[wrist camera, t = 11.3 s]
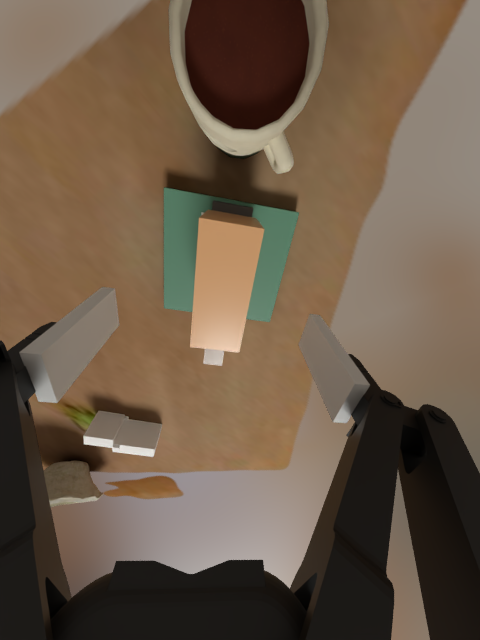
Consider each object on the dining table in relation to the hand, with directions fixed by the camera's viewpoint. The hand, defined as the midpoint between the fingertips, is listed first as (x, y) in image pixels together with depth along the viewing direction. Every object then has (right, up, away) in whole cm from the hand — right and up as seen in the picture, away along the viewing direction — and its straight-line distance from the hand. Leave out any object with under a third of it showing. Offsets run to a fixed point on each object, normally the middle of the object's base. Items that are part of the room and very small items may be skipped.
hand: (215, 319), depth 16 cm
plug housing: (0, +4, +10) cm, 11 cm away
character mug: (+2, +19, +6) cm, 20 cm away
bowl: (-34, -31, +34) cm, 57 cm away
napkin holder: (-19, -18, +27) cm, 38 cm away
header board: (0, +7, +12) cm, 14 cm away
